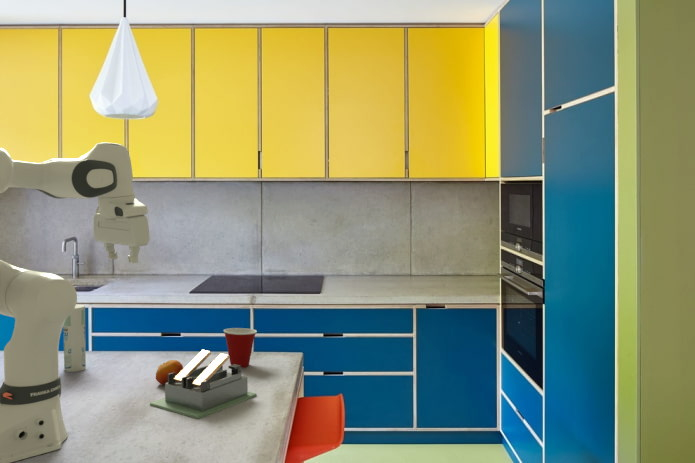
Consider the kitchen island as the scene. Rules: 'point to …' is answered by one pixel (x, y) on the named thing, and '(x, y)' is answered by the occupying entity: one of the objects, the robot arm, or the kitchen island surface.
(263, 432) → the kitchen island surface
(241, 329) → the plastic cup
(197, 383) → the strap near
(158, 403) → the board
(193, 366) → the strap far
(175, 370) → the fruit
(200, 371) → the grey toaster
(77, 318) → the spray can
